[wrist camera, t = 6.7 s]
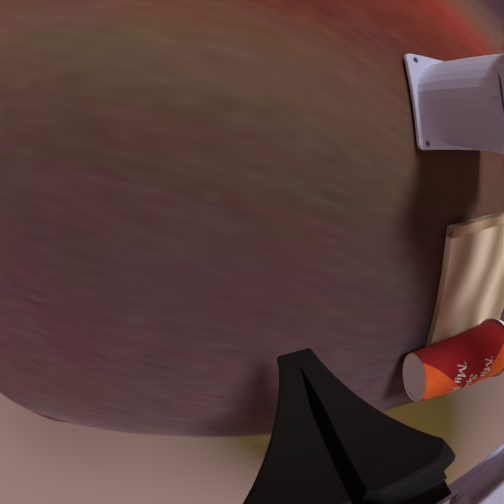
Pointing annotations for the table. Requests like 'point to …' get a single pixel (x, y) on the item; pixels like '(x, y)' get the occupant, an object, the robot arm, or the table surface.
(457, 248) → the birch board
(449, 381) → the paper cup
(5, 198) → the table surface
